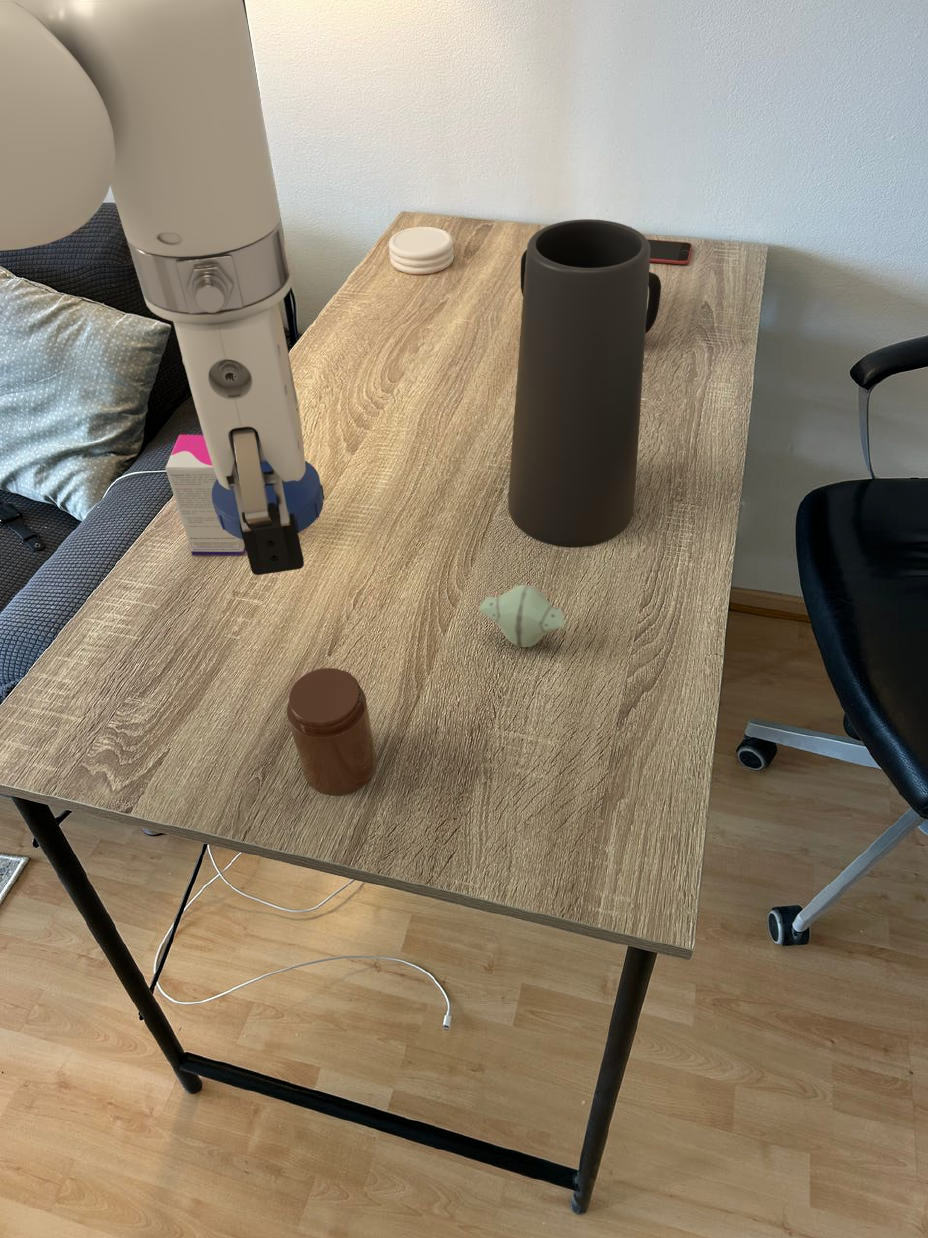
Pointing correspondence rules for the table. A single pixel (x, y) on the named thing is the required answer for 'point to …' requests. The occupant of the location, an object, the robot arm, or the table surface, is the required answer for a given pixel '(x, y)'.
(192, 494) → the supplement box
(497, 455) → the table surface
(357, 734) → the jar
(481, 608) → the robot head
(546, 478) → the vase
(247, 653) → the table surface
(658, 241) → the smartphone
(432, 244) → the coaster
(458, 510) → the table surface
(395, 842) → the table surface
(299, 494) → the lid
